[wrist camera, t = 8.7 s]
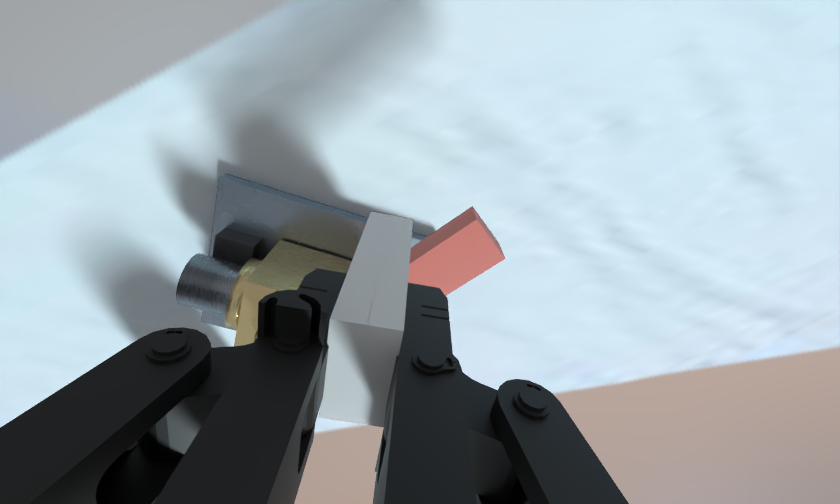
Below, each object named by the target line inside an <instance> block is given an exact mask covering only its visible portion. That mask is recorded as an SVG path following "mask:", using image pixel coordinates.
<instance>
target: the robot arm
mask: <svg viewBox="0 0 840 504" xmlns="http://www.w3.org/2000/svg"><path fill="white" fill-rule="evenodd" d="M412 228H413V219H409V218H404V217H398V216H393V215H387V214H382V213H376V212H370V215H369V218H368V220H367V223H366V225H365V228H364V231H363V233H362V236H361V239H360V241H359V244H358V246H357V249H356V252H355V254H354V257H353V259H352V262H351V265H350V267H349V270H348V273H342V272H336V271H331V270H325V269H319V268H317V269H315V270H314V271H312V272H310V273H309V274H307V275H305V277H304V278H303V280H302V282H301V284H300V285H299V288H298V289H297V290H290V289H289V290H282V291H276V292H273V293H271V294H268V295H266V296H265V297H263V298H262V299H261V300H260V301H259V302H258V336H257V338H256V340H255V341H254V343H250V344H247V345H241V346H234V347H217V348H211V343H210V341H209V339H208V338H207V336H206V335H205V334H203V333H201V332H199V331H198V330H194V329H188V328H168V329H164V330H160V331H156V332H152V333H150V334H148V335H146V336H144V337H142V338H140V339H138V340H137V341H135V342H133V343H132V344H130V345H129V346H127V347H126V348H124V349H122V350H121V351H119V352H118V353H116V354H115V355H113V356H112V357H110V358H108V359H107V360H105V361H104V362H102V363H101V364H99V365H98V366H96V367H94V368H93V369H91V370H90V371H88V372H87V373H85V374H83V375H82V376H80V377H79V378H77V379H76V380H74V381H73V382H71V383H69V384H68V385H66V386H65V387H63V388H62V389H60V390H59V391H57V392H55V393H54V394H52V395H51V396H49V397H48V398H46V399H45V400H43V401H41V402H40V403H38V404H37V405H35V406H34V407H32V408H30V409H29V410H27V411H26V412H24V413H23V414H21V415H20V416H18V417H16V418H15V419H13V420H12V421H10V422H9V423H7V424H6V425H4V426H2V427H1V428H0V504H294V502H295V498H296V495H297V492H298V488H299V485H300V482H301V478H302V475H303V471H304V468H305V465H306V462H307V458H308V455H309V452H310V448H311V445H312V442H313V438H314V429H315V421H316V418H317V415H318V411H319V418H325V419H332V420H338V421H345V422H352V423H359V424H366V425H372V426H379V427H384V430H383V435H382V440H381V444H380V449H379V454H378V459H377V464H376V468H375V471H376V472H377V474H376V482H375V491H374V498H373V504H629V503H628V502H627V500H626V499H625V497H624V496H623V494H622V493H621V492H620V490H619V489H618V487H617V486H616V484H615V483H614V481H613V480H612V478H611V477H610V475H609V474H608V472H607V471H606V469H605V468H604V466H603V465H602V463H601V462H600V461H599V459H598V457H597V456H596V454H595V453H594V452H593V450H592V449H591V447H590V446H589V444H588V443H587V441H586V440H585V438H584V437H583V435H582V434H581V432H580V431H579V429H578V428H577V426H576V425H575V423H574V422H573V421H572V419H571V418H570V416H569V414H568V413H567V411H566V410H565V409H564V407H563V406H562V404H561V403H560V402H559V400H558V399H557V398H556V397H555V396H554V395H553V394H552V393H551V392H550V391H548V390H547V389H545V388H544V387H542V386H541V385H538V384H536V383H533V382H531V381H528V380H520V379H514V380H509V381H506V382H504V383H503V384H502V385H501V386H500V387H499V389H498V390H495V389H493V388H490V387H488V386H485V385H483V384H481V383H479V382H477V381H475V380H473V379H471V378H470V377H468V376H467V375H465V374H464V373H463V372H462V369H461V366H460V364H459V361H458V359H457V358H456V357H455V356H454V355H453V354H452V343H451V332H450V321H449V312H448V300H447V297H446V296H445V295H444V293H443V292H442V291H441V289H440V288H437V287H431V286H425V285H420V284H414V283H408V275H409V263H410V252H411V240H412ZM319 408H320V410H319Z"/></svg>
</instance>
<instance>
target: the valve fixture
mask: <svg viewBox="0 0 840 504" xmlns="http://www.w3.org/2000/svg"><path fill="white" fill-rule="evenodd" d="M367 220H368V218H365V217H362V216H359V215H356V214H353V213H349V212H346V211H343V210H340V209H337V208H333V207H330V206H327V205H324V204H321V203H317V202H314V201H311V200H308V199H305V198H301V197H298V196H295V195H292V194H289V193H286V192H282V191H279V190H276V189H273V188H270V187H266V186H263V185H260V184H257V183H254V182H250V181H247V180H244V179H241V178H238V177H234V176H231V175H228V174H225V175H223V176H221V177H219V180H218V188H217V196H216V205H215V213H214V221H213V229H212V237H211V245H210V254H209V256H208V255H204V254H201V253H199V254H196V255H194V256H193V257H192V258H191V259H190V260H189V262H188V263H187V265H186V266H185V268H184V270H183V272H182V274H181V276H180V279H179V282H178V286H177V292H176V298H177V301H178V303H179V304H182V305H186V306H189V307H193V308H197V309H200V310H203V311H202V319H201V321H202V322H206V323H210V324H213V325H217V326H221V327H225V328H228V329H232V330H236V331H237V332H236V338H235V344H234V346H241V345H247V344H250V343H254V341H255V340H256V338H257V336H258V302H259V301H260V300H261V299H262V298H263V297H265V296H266V295H268V294H271V293H273V292H276V291H282V290H289V289H290V290H297V289H298V288H299V285H300V284H301V282H302V280H303V278H304V277H305V275H307V274H309V273H310V272H312V271H314V270H315V269H317V268H319V269H325V270H331V271H336V272H342V273H348V270H349V267H350V265H351V262H352V259H353V257H354V254H355V252H356V249H357V246H358V244H359V241H360V239H361V236H362V233H363V231H364V228H365V225H366V223H367ZM425 238H426V236H423V235H420V234H417V233H413V232H412V240H411V247H413V246H414V245H416V244H417V243H419V242H420V241H422V240H423V239H425Z"/></svg>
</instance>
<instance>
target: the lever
mask: <svg viewBox="0 0 840 504" xmlns="http://www.w3.org/2000/svg"><path fill="white" fill-rule="evenodd" d="M504 259H505V257H504V255H503V252H502V250H501V247H500V245H499V243H498V241H497V240H496V238H495V237H494V236H493V234H492V233H491V231H490V230H489V229H488V227H487V226H486V224H485V223H484V222H483V220H482V219H481V217H480V216H479V215H478V213H477V212H476V211H475V209H474V208H473V206H472V207H471V208H469V209H468V210H466V211H465V212H463V213H462V214H460V215H459V216H457V217H456V218H454V219H453V220H451V221H450V222H448V223H447V224H445V225H444V226H442V227H441V228H440V229H438V230H437V231H435V232H434V233H432V234H431V235H429V236H428V237H426V238H425V239H423V240H422V241H420V242H419V243H417V244H416V245H414V246H413V247H411V252H410V263H409V275H408V283H414V284H420V285H425V286H431V287H437V288H440V289H441V291H442V292H443V293H444V295H445V296H446V295H447V294H449V293H451V292H452V291H454V290H455V289H457V288H459V287H460V286H462V285H464V284H465V283H467V282H468V281H470V280H472V279H473V278H475V277H476V276H478V275H480V274H481V273H483V272H484V271H486V270H488V269H489V268H491V267H493V266H494V265H496V264H497V263H499V262H501V261H502V260H504Z"/></svg>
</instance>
